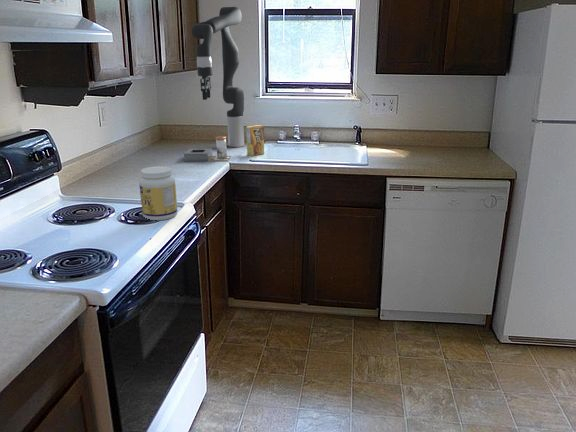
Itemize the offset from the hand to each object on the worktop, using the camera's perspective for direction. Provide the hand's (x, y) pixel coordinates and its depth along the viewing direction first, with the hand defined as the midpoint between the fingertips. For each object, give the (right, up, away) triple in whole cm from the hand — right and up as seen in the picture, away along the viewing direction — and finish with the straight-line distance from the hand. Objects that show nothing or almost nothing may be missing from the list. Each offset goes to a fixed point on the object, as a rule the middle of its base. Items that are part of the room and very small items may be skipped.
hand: (206, 98), depth 267 cm
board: (+1, -32, 0) cm, 32 cm away
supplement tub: (-3, -61, -83) cm, 102 cm away
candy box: (+25, -27, +12) cm, 39 cm away
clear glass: (+8, -31, -1) cm, 32 cm away
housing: (-4, -31, 0) cm, 31 cm away
